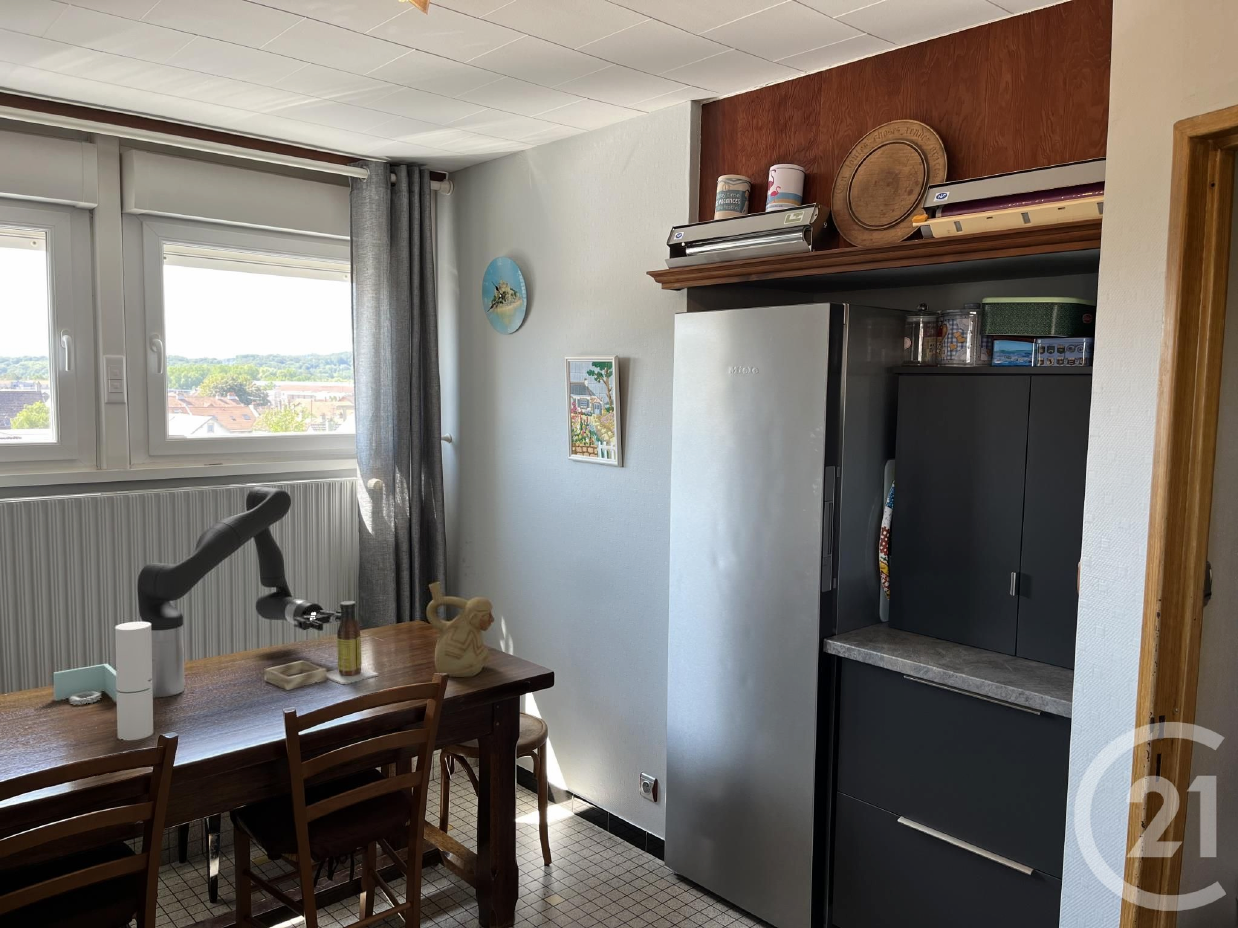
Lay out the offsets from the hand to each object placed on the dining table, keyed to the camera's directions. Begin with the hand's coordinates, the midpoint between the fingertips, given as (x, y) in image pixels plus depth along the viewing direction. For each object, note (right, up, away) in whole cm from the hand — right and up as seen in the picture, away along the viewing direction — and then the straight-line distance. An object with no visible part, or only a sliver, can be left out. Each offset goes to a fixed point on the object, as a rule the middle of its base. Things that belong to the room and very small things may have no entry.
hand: (335, 624), depth 257 cm
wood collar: (-9, -14, -8) cm, 18 cm away
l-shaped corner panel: (-53, -15, -27) cm, 62 cm away
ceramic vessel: (+34, -14, +4) cm, 37 cm away
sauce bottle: (+5, -13, -3) cm, 14 cm away
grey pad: (+5, -14, -3) cm, 15 cm away
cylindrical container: (-31, -17, -48) cm, 59 cm away
